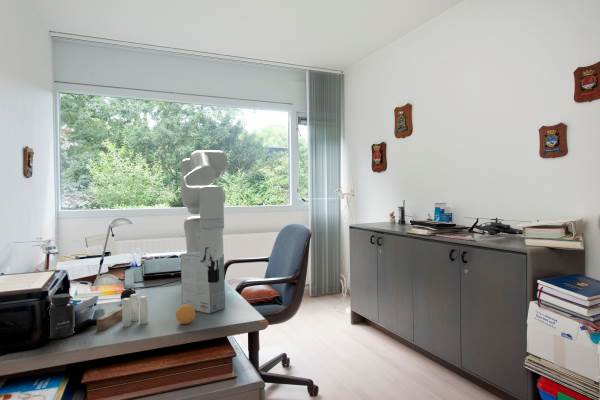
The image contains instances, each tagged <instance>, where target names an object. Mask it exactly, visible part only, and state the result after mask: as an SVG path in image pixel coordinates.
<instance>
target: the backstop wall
mask: <svg viewBox="0 0 600 400" xmlns="http://www.w3.org/2000/svg"><path fill="white" fill-rule="evenodd" d="M120 321H122V305H121V306H119V307H117V308H115V309H113V310H111V311H109V312H108V313H105V314H104V315H102V316H100V317H98V318H96V331H101V332H102V331H105V330H106V329H108V328H110V327H111V326H114V325H115V324H117V323H119V322H120Z"/></svg>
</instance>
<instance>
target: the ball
mask: <svg viewBox="0 0 600 400" xmlns="http://www.w3.org/2000/svg"><path fill="white" fill-rule="evenodd" d="M175 317H176V320H177V321H178V323H180V324H183V325H187V324H190V323H191V322H193V321H194V319H195V317H196V310H195V309H194V308H193V307H192V306H191V305H188V304H185V305H182V304H181V305H180V306H179V307H178V308H177V309H176V312H175Z"/></svg>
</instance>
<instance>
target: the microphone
mask: <svg viewBox="0 0 600 400" xmlns="http://www.w3.org/2000/svg"><path fill="white" fill-rule="evenodd" d="M132 294H137V293H136V290H135V289H132V288H125V289H124V290H123V291H122V292H121V293H120V299H121V301H122V299H124V298H130V295H132Z"/></svg>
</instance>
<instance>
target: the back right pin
mask: <svg viewBox="0 0 600 400" xmlns="http://www.w3.org/2000/svg"><path fill="white" fill-rule="evenodd" d="M130 314H131V322H138V321H140V304H139V293H136V294H132V295H130Z"/></svg>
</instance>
